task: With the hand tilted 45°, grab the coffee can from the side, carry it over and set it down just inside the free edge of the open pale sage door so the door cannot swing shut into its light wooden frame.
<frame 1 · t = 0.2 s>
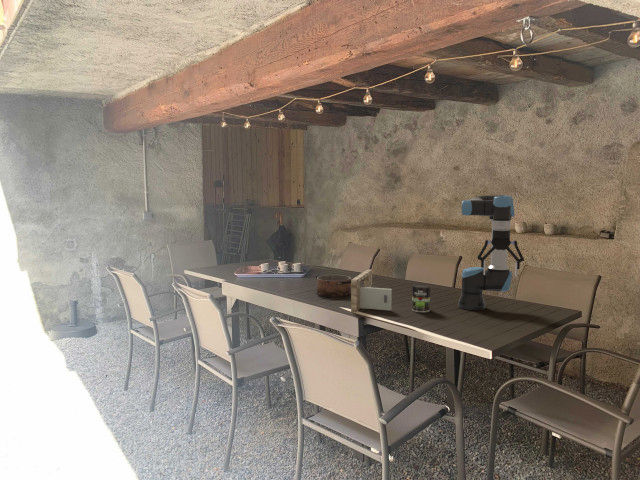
hand: (499, 275, 215), 28 cm above the table, tool pointing down, fingers open, 13 cm apart
door: (373, 298, 262), point 6 cm above the table, hinge at -90.0°
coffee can: (420, 310, 262), on the table
cooking pot: (333, 293, 306), on the table
door frame: (361, 304, 275), on the table
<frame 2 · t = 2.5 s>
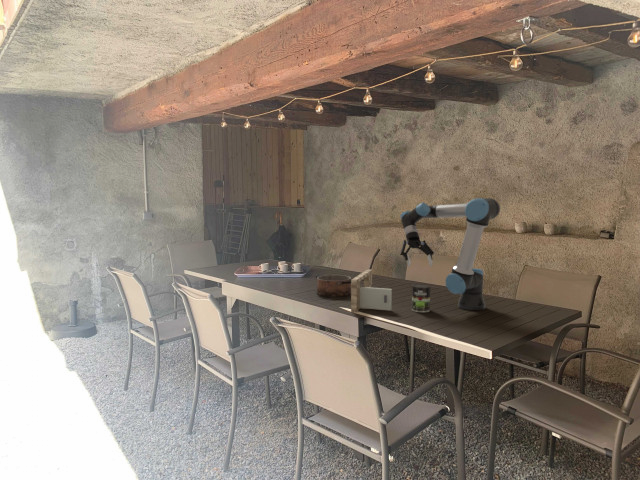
hand: (420, 265, 263), 25 cm above the table, tool tilted 40°, fingers open, 13 cm apart
nothing on the table moved.
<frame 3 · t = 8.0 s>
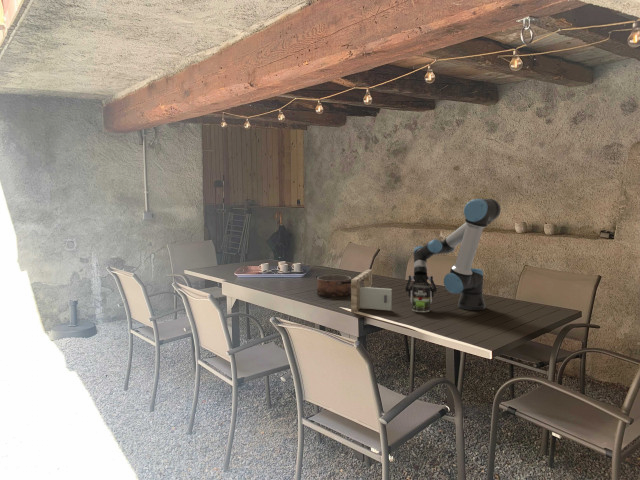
hand: (421, 301, 258), 5 cm above the table, tool tilted 45°, fingers closed on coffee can, 10 cm apart
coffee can: (420, 310, 262), on the table, touching gripper
everything else where it was.
when the fingers open (7 cm above the table, at t = 14.7 s): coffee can drops 1 cm, on the table.
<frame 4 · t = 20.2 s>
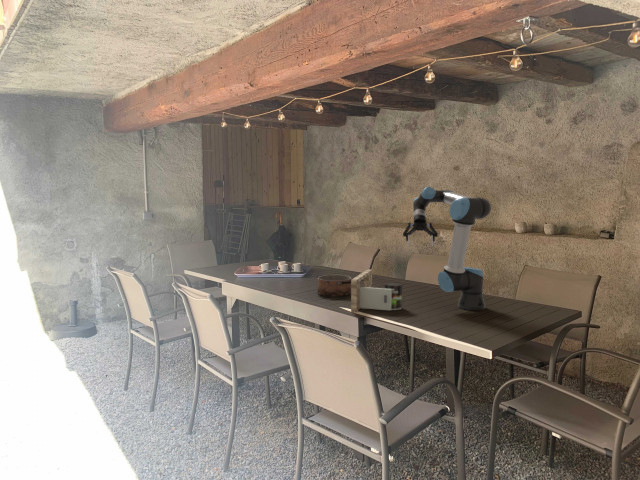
hand: (420, 245, 272), 36 cm above the table, tool tilted 45°, fingers open, 13 cm apart
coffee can: (393, 308, 267), on the table
everything else where it was.
at the end: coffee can inside the target area (0.4 cm from its centre), on the table; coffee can tilted 0°; door at -90° (first picture: -90°) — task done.
